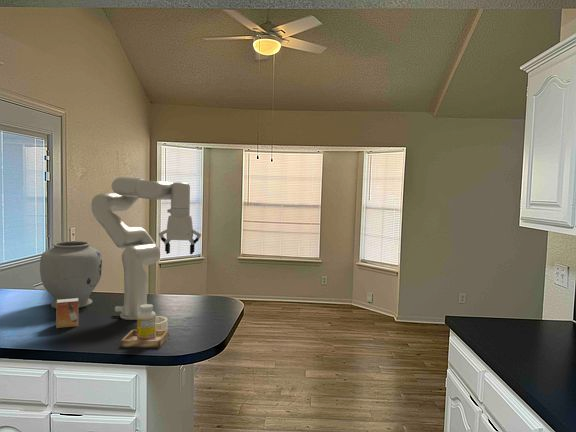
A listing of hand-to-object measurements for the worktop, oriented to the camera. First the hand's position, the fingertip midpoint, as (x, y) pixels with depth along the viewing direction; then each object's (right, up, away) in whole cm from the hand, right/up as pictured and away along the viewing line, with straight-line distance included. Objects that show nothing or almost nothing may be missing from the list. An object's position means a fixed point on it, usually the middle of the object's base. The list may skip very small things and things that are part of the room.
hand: (179, 253), depth 174 cm
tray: (-8, -31, -17) cm, 37 cm away
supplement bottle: (-8, -31, -17) cm, 36 cm away
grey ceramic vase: (-60, -27, +29) cm, 72 cm away
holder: (-10, -30, -4) cm, 32 cm away
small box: (-46, -30, -2) cm, 54 cm away
